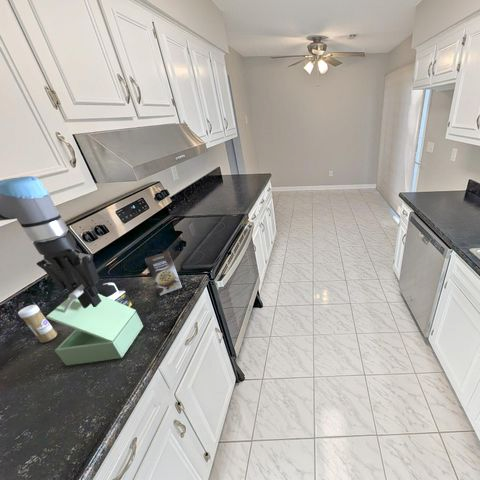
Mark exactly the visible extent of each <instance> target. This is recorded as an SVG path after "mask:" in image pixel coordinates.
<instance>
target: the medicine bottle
mask: <svg viewBox="0 0 480 480" xmlns="http://www.w3.org/2000/svg"><path fill="white" fill-rule="evenodd" d="M96 288H97V290H98V292H99V293H98V294H100V295H102V296H105V297H107V298H109V299H112V300H114V301H116V302H119V303H121V304H123V305H125V306H128V307H130V308H131V306H133V304H132V302H131V300H130V298H129V295H128V294H127V292H126V291H125V290H118V287H117V285H116V284H115V283H114V282H106V283H105V282H104V283H102V284H100V285H99V286H97V287H96Z"/></svg>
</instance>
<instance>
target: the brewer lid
mask: <svg viewBox="0 0 480 480" xmlns="http://www.w3.org/2000/svg"><path fill="white" fill-rule="evenodd" d="M84 288H85V287H84V286H83V285H82V283H80V285H78V288H77V289H75V290H74V291H73V292H71V293H69V294H68V298H66V299H65V300H64V301H63V302H61V303H60V304H59V305H58V306H57V307H55V309H54V310H52V311H51V312H50V313H48V314H47V315H46V317H45V318H46V320H49V321H53V322H56V323H57V324H61V325H64V326H66V327H69V328H72V329H74V330H75V329H77V330H79V331H82V332H85V333H87V334H90V335H93V336H95V337H98V338H101V339H103V340H106V341H109V342H112V341H113V340H114V339H115V337H116V336H117V335H118V333H119V332H120V331H121V330H122V328H123V327H124V326H125V324H126V323H127V322H128V320H129V319H130V318H131V316H132V315H133V314H134V313H135V312H137V310H136V309H134V308H133V307H131V306H130V307H128V306H125V305H123V304H121V303H119V302H116V301H114V300H112V299H109V298H107V297H105V296H102V295H100V294H98V296H99V297H100V299H101V302H100V303H99V304H98V305H97V306H96V307H93V306H92V304H90V305H89V306H88V307H87V308H83V306H82V305H81V303H80V302H79V300H78V299H77V298H78V297H79V296H80V295H81V294H82V293H84V291H83V289H84Z"/></svg>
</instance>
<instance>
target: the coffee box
mask: <svg viewBox="0 0 480 480" xmlns="http://www.w3.org/2000/svg"><path fill="white" fill-rule="evenodd" d="M144 260H145V264H146V266H147V268H148V269H147V270H148V271H149V274H150V276H151V278H152V281H153V283H154V285H155V287H156V290H157V293H158V295H159V296H163V295H166V294H168V293H171V292H174V291H176V290H179V289H183V285H182V283H181V280H180V278H179V275H178V272H177V270H176V266H175V264H174V262H173V261H174V260H173V258H172V256H171V253H170V251H165V252H162V253H158V254H154V255H152V256H148V257H145V259H144Z"/></svg>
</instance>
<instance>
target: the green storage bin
mask: <svg viewBox="0 0 480 480" xmlns="http://www.w3.org/2000/svg"><path fill="white" fill-rule="evenodd" d="M143 328H144V324H143V323H142V319H140V316H139V314H138V312H137V311H135V313H134V314H133V315H132V316H131V318H130V319H129V320H128V322H127V323H126V324H125V326H124V327H123V328H122V330H121V331H120V332H119V333H118V335H117V336H116V337H115V339H114V340H113V341H112V342H109V341H106V340H103V339H101V338H98V337H95V336H93V335H90V334H87V333H85V332H82V331H79V330H77V329H74V330H73V331H72V332H71V333H70V335H68V336H67V337H66V338H65V339H64V340H63V341H62V342H61V343H60V344H59V345H58V346H57V347H56V348H55V349H54V352H55V353H56V354H57V356H58V357H59V358H60V360H61V361H62V362H63V363H64V365H65V366H73V365H74V366H75V365H81V364H88V363H94V362H101V361H102V362H103V361H110V360H117V359H118V360H119V359H122V358H123V357H124V356H125V354H126V353H127V352H128V349H129V348H130V347H131V345H132V344H133V342H134V341H135V340H136V338H137V337H138V335H139V334H140V332H141V331H142V329H143Z"/></svg>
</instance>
